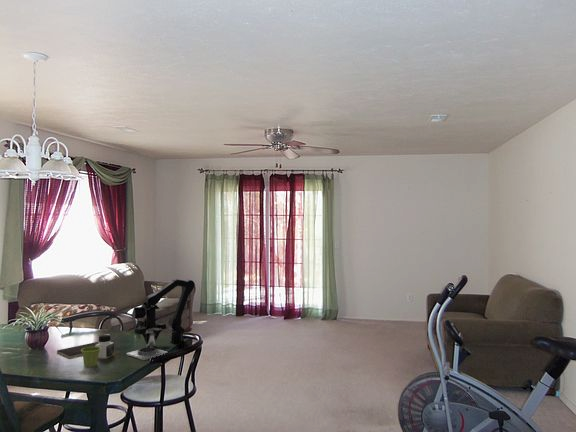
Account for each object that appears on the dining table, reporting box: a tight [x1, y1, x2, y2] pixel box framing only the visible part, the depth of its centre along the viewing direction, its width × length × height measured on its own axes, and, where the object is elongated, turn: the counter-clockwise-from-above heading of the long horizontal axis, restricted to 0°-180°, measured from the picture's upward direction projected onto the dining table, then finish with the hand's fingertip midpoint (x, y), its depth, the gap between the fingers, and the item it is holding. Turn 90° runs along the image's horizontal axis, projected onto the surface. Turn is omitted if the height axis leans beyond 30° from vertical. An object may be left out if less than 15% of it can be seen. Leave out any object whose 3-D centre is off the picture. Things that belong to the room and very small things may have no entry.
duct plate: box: [126, 347, 169, 361], centre depth 254 cm, size 16×16×2 cm
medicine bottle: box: [95, 333, 115, 359], centre depth 250 cm, size 7×7×12 cm
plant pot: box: [81, 347, 101, 368], centre depth 234 cm, size 9×9×9 cm
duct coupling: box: [145, 331, 156, 348], centre depth 270 cm, size 5×5×8 cm
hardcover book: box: [56, 341, 99, 359], centre depth 260 cm, size 16×23×2 cm
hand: (150, 342), depth 270 cm, fingers closed on duct coupling, 5 cm apart
